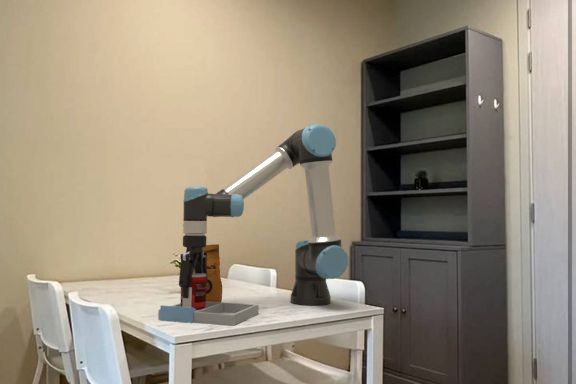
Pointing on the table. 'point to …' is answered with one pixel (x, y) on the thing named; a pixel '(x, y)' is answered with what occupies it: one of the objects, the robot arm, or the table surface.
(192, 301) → the canned food
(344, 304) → the table surface
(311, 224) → the robot arm
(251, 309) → the grey shallow tray
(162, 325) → the table surface
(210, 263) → the coffee package
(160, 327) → the table surface
